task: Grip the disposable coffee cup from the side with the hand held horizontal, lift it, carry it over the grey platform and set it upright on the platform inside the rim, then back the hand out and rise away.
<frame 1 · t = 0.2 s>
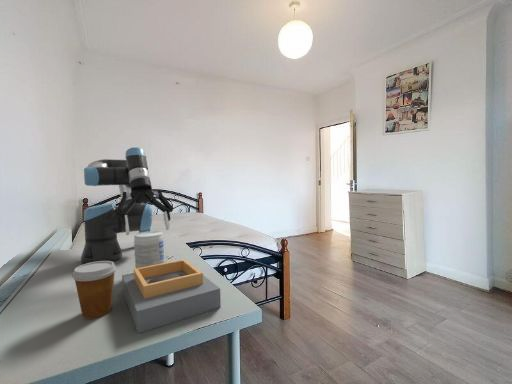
hand: (148, 231, 94), 15 cm above the table, tool tilted 35°, fingers open, 13 cm apart
grey platform: (168, 298, 73), on the table
disposable coffee cup: (97, 313, 66), on the table
tube: (145, 245, 134), on the table
supplement tub: (150, 275, 92), on the table
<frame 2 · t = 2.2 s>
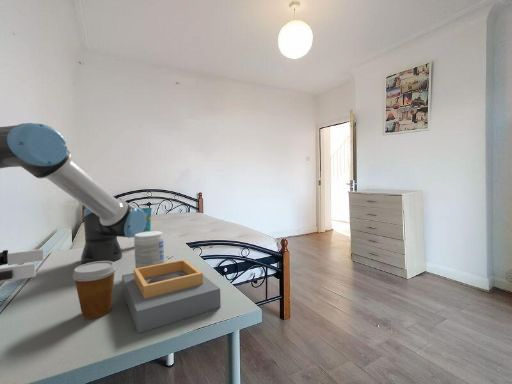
hand: (39, 261, 60), 15 cm above the table, tool horizontal, fingers open, 13 cm apart
nothing on the table moved.
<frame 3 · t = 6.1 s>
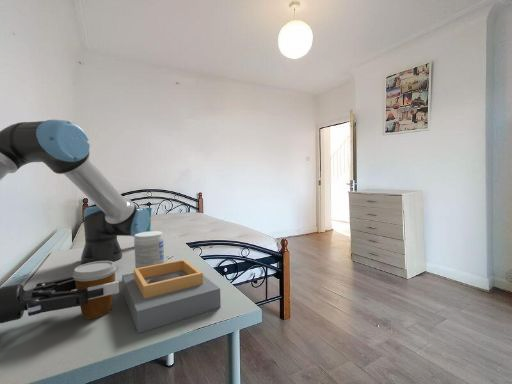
hand: (116, 281, 69), 7 cm above the table, tool horizontal, fingers closed on disposable coffee cup, 8 cm apart
disposable coffee cup: (97, 313, 66), on the table, touching gripper
everything else where it was.
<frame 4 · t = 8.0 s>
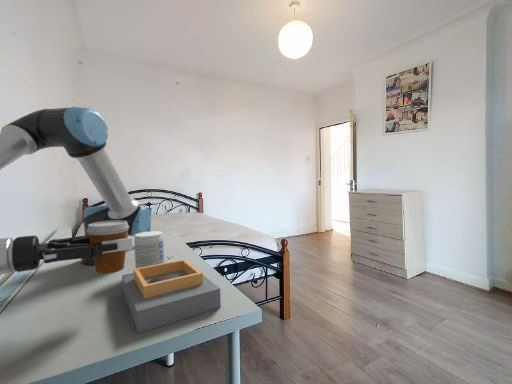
hand: (129, 239, 69), 18 cm above the table, tool horizontal, fingers closed on disposable coffee cup, 8 cm apart
disposable coffee cup: (110, 270, 66), point 11 cm above the table, touching gripper
everything else where it was.
when the fingers open (14 cm above the table, at t = 10.2 s): disposable coffee cup drops 1 cm, resting on grey platform.
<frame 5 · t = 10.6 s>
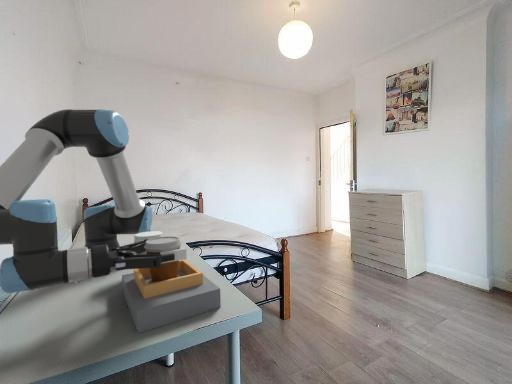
hand: (178, 247, 74), 14 cm above the table, tool horizontal, fingers open, 13 cm apart
disposable coffee cup: (165, 284, 71), point 5 cm above the table, touching grey platform, gripper
everything else where it was.
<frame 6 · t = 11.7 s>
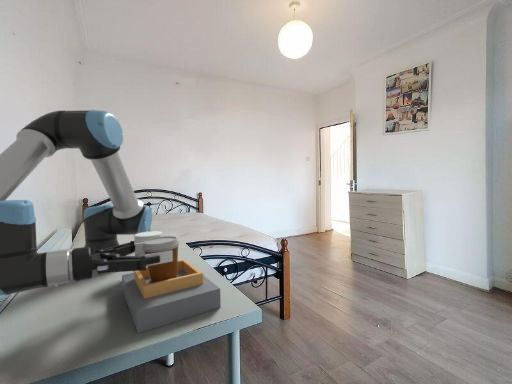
hand: (165, 249, 72), 14 cm above the table, tool horizontal, fingers open, 13 cm apart
nothing on the table moved.
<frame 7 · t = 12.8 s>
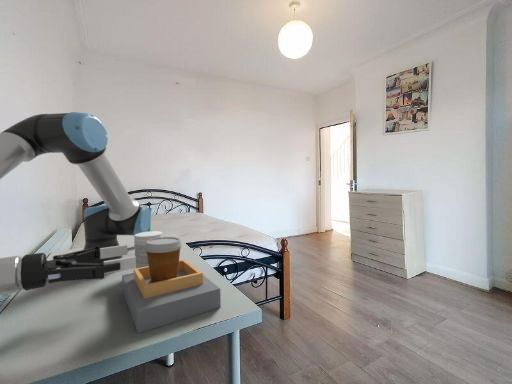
hand: (131, 255, 68), 14 cm above the table, tool horizontal, fingers open, 13 cm apart
disposable coffee cup: (164, 285, 70), point 5 cm above the table, touching grey platform
everything else where it was.
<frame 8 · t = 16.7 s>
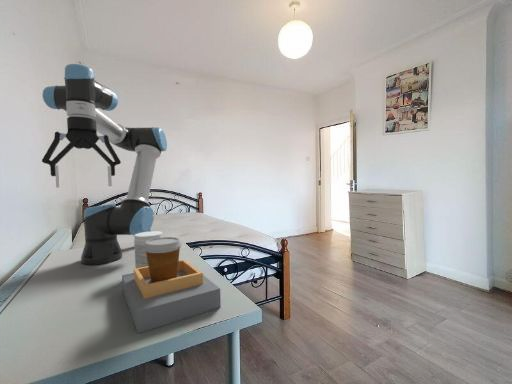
hand: (85, 186, 82), 32 cm above the table, tool pointing down, fingers open, 13 cm apart
nothing on the table moved.
at the end: disposable coffee cup 2.9 cm off-centre on the grey platform, point 5.1 cm above the grey platform's base; disposable coffee cup tilted 0°; the gripper is holding nothing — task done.
